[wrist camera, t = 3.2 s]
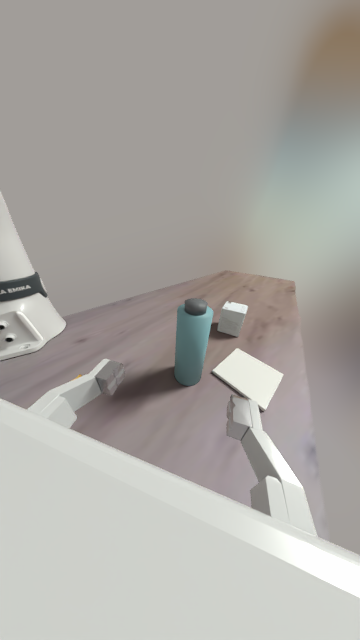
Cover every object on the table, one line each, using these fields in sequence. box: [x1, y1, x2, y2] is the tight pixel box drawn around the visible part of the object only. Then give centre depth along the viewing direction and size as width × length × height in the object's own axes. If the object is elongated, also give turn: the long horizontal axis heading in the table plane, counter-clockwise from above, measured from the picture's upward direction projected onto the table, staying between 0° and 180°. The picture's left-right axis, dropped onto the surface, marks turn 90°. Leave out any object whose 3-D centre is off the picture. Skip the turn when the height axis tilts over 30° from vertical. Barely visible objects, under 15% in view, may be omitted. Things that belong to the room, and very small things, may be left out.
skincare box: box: [217, 301, 248, 337], centre depth 41 cm, size 6×6×7 cm
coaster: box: [212, 348, 284, 411], centre depth 29 cm, size 10×10×1 cm
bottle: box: [174, 299, 213, 386], centre depth 24 cm, size 5×5×15 cm
